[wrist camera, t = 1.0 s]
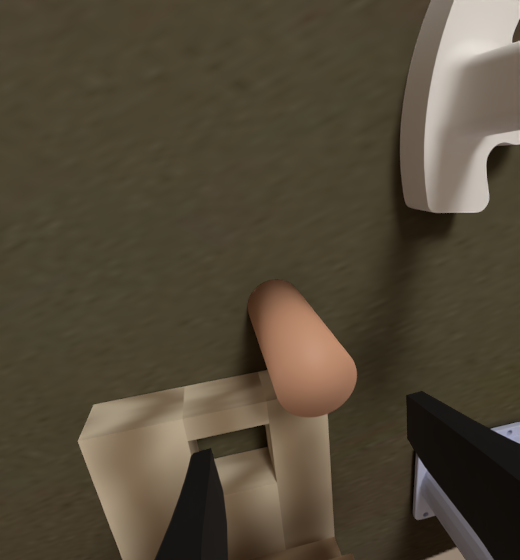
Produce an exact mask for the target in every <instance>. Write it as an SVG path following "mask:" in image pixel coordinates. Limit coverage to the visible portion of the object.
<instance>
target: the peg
mask: <svg viewBox="0 0 520 560" xmlns="http://www.w3.org/2000/svg"><path fill="white" fill-rule="evenodd" d="M248 313H249V316H250V319H251V322H252V325H253V328H254V331H255V334H256V337H257V340H258V343H259V346H260V349H261V352H262V355H263V358H264V361H265V363H266V366H267V369H268V372H269V375H270V378H271V381H272V384H273V387H274V390H275V393H276V396H277V399H278V401H279V403H280V404H281V405H282V407H283V408H284V409H285V410H287V411H288V412H290V413H291V414H293V415H296V416H299V417H307V418H311V417H319V416H323V415H326V414H328V413H330V412H332V411H334V410H336V409H337V408H339V407H340V406H341V405H342V404H343V403H344V402H345V401H346V400H347V399H348V398H349V397H350V395H351V393H352V392H353V390H354V387H355V384H356V380H357V370H356V366H355V363H354V361H353V359H352V358H351V357H350V355H349V354H348V353H347V351H346V350H345V349H344V348H343V346H342V345H341V344H340V343H339V341H338V340H337V339H336V338H335V336H334V335H333V334H332V333H331V331H330V330H329V329H328V328H327V326H326V325H325V324H324V323H323V321H322V320H321V319H320V318H319V316H318V315H317V314H316V313H315V311H314V310H313V309H312V308H311V306H310V305H309V304H308V302H307V301H306V300H305V299H304V297H303V296H302V295H301V294H300V292H299V291H298V290H297V289H296V288H295V286H293V285H292V284H291V283H289V282H287V281H284V280H278V279H275V280H269V281H266V282H264V283H262V284H260V285H259V286H258V287H257V288H255V290H254V291H253V292H252V294H251V295H250V298H249V301H248Z"/></svg>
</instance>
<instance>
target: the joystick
mask: <svg viewBox="0 0 520 560" xmlns="http://www.w3.org/2000/svg"><path fill="white" fill-rule="evenodd" d="M519 19H520V0H431V2H430V4H429V7H428V10H427V12H426V15H425V18H424V20H423V23H422V26H421V29H420V32H419V35H418V38H417V42H416V45H415V48H414V52H413V56H412V60H411V64H410V68H409V73H408V77H407V82H406V88H405V94H404V100H403V108H402V117H401V129H400V168H401V180H402V188H403V195H404V200H405V204H406V205H407V206H408V207H409V208H413V209H418V210H423V211H428V212H433V213H476V212H480V211H482V210H483V209H484V208H485V207H486V206H487V204H488V202H489V191H488V183H487V170H486V162H487V157H488V155H489V153H490V151H491V150H492V149H493V148H494V147H495V146H503V145H518V144H520V41H518V42H515V43H512V37H513V33H514V30H515V28H516V26H517V24H518V21H519Z"/></svg>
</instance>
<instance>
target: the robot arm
mask: <svg viewBox="0 0 520 560" xmlns="http://www.w3.org/2000/svg"><path fill="white" fill-rule="evenodd" d="M406 400H407V439H408V440H409V442H410V444H411V445H412V447H413V449H414V450H415V452H416V462H415V480H414V498H413V516H414V518H415V519H416V520H421V519H425V518H429V517H432V516H436V517H437V518H438V520H439V521H440V523H441V524H442V526H443V527H444V529H445V530H446V531H447V533H448V534H449V536H450V537H451V539H452V540H453V542H454V543H455V545H456V546H457V548H458V549H459V550H460V552H461V553H462V555H463V557H464V558H465V559H466V560H520V422H516V423H512V424H508V425H504V426H499V427H495V428H491V429H489V428H487V427H485V426H484V425H482V424H480V423H478V422H476V421H474V420H473V419H471V418H469V417H467V416H465V415H464V414H462V413H460V412H458V411H456V410H455V409H453V408H451V407H449V406H448V405H446V404H444V403H442V402H441V401H439V400H437V399H435V398H434V397H432V396H430V395H428V394H426V393H425V392H423V391H420V392H417V393H413V394H409V395H406ZM154 560H228V539H227V519H226V509H225V501H224V493H223V488H222V485H221V481H220V478H219V474H218V471H217V467H216V464H215V461H214V457H213V454H212V450H211V448H210V449H206V450H202V451H199V452H195V453H193V454H192V455H191V458H190V462H189V466H188V470H187V473H186V477H185V480H184V483H183V487H182V490H181V493H180V496H179V499H178V501H177V504H176V507H175V510H174V513H173V515H172V518H171V521H170V523H169V526H168V528H167V531H166V533H165V536H164V538H163V540H162V543H161V545H160V548H159V550H158V552H157V555H156V557H155V559H154Z"/></svg>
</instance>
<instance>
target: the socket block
mask: <svg viewBox="0 0 520 560" xmlns="http://www.w3.org/2000/svg"><path fill="white" fill-rule="evenodd" d="M264 424H265V428H266V435H267V443H268V447H264V448H260V449H255V450H251V451H247V452H242V453H238V454H233V455H229V456H225V457H220V458H216V459H214V461H215V464H216V467H217V471H218V474H219V478H220V481H221V485H222V488H223V493H224V501H225V509H226V519H227V539H228V560H354V558H353V555H352V553H351V554H347V555H344V556H341V553H340V550H339V548H338V545H337V542H336V540H335V537H334V520H333V502H332V485H331V467H330V450H329V432H328V414H326V415H323V416H319V417H311V418H307V417H299V416H296V415H293V414H291V413H290V412H288V411H287V410H285V409H284V408H283V407H282V405H281V404H280V403H279V401H278V399H277V396H276V393H275V390H274V387H273V384H272V381H271V378H270V375H269V372H268V370H265V371H260V372H255V373H250V374H245V375H239V376H234V377H229V378H224V379H219V380H214V381H209V382H204V383H199V384H194V385H189V386H184V387H179V388H174V389H169V390H164V391H159V392H154V393H149V394H144V395H139V396H134V397H129V398H124V399H119V400H114V401H109V402H104V403H99V404H94V405H93V408H92V410H91V412H90V414H89V417H88V419H87V421H86V424H85V426H84V428H83V430H82V433H81V435H80V437H79V439H78V443H79V446H80V448H81V451H82V454H83V456H84V459H85V462H86V464H87V467H88V470H89V472H90V475H91V478H92V480H93V483H94V486H95V488H96V491H97V493H98V496H99V499H100V501H101V504H102V507H103V509H104V512H105V515H106V517H107V520H108V523H109V525H110V528H111V531H112V533H113V536H114V538H115V541H116V544H117V546H118V549H119V552H120V554H121V557H122V560H154V559H155V557H156V555H157V552H158V550H159V548H160V545H161V543H162V540H163V538H164V536H165V533H166V531H167V528H168V526H169V523H170V521H171V518H172V515H173V513H174V510H175V507H176V504H177V501H178V499H179V496H180V493H181V490H182V487H183V483H184V480H185V477H186V473H187V470H188V466H189V462H190V458H191V455H192V454H193V453H195V452H199V448H198V444H197V439H201V438H205V437H210V436H214V435H219V434H223V433H228V432H232V431H237V430H242V429H246V428H251V427H255V426H260V425H264Z"/></svg>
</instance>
